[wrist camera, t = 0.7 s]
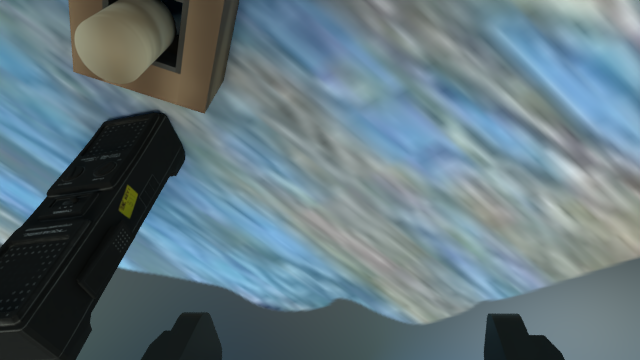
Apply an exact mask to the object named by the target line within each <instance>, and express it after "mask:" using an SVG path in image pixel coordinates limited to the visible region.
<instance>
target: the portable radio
mask: <svg viewBox="0 0 640 360" xmlns="http://www.w3.org/2000/svg"><path fill="white" fill-rule="evenodd" d="M184 160H185V155H184V150H183V147H182V145H181V143H180V141H179V139H178V137H177V135H176V133H175V132H174V130H173V128H172V126H171V124H170V122H169V120H168V118H167V117H166V116H165V115H163V114H158V113H151V114H145V115H139V116H133V117H127V118H122V119H117V120H111V121H106V122H104V123H103V124H102V125H101V127H100V128H99V129H98V131H97V132H96V133H95V135H94V136H93V137H92V139H91V140H90V141H89V142H88V144H87V145H86V146H85V147H84V149H83V150H82V151H81V152H80V153H79V155H78V156H77V157H76V158H75V159H74V161H73V162H72V163H71V164H70V165H69V167H68V168H67V169H66V170H65V171H64V172H63V174H62V175H61V176H60V177H59V178H58V179H57V181H56V182H55V183H54V184H53V185H52V186H51V188H50V189H49V190H48V192H47V197H46V198H45V200H44V201H43V202H42V203H41V204H40V206H39V207H38V208H37V209H36V210H35V211H34V212H33V214H32V215H31V216H30V217H29V218H28V219H27V220H26V222H25V223H24V224H23V225H22V226H21V227H20V228H18V229H17V230H16V231H15V232H14V233H13V234H12V235H11V236H10V237H9V239H8V240H7V241H6V242H5V243H4V244H3V245H2V246H1V248H0V360H76V358H77V356H78V354H79V353H80V351H81V349H82V347H83V345H84V343H85V342H86V340H87V338H88V336H89V334H90V332H91V331H92V328H91V325H90V317H91V312H92V310H93V309H94V307H95V305H96V304H97V302H98V300H99V298H100V297H101V295H102V293H103V291H104V290H105V288H106V286H107V284H108V283H109V281H110V279H111V278H112V276H113V274H114V272H115V270H116V269H117V267H118V265H119V264H120V262H121V260H122V258H123V257H124V255H125V253H126V251H127V250H128V248H129V246H130V244H131V243H132V241H133V240H134V238H135V237H136V234H137V232H138V230H139V229H140V227H141V225H142V223H143V222H144V220H145V218H146V217H147V215H148V213H149V211H150V210H151V208H152V206H153V204H154V203H155V201H156V199H157V197H158V196H159V194H160V192H161V190H162V189H163V187H164V185H165V184H166V182H167V180H168V178H169V177H170V176H176V175H177V174H178V172H179V170H180V168H181V166H182V164H183V163H184Z"/></svg>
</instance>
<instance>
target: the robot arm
mask: <svg viewBox="0 0 640 360" xmlns="http://www.w3.org/2000/svg"><path fill="white" fill-rule="evenodd" d="M141 360H222V347H221V343H220V341H219V338H218V335H217V333H216V330H215V327H214V324H213V321H212V318H211V316H210V314H209V313H207V312H206V313H205V312H184V313H182V314H181V315H180V316H179V317H178V319H177V321H176V323H175V325H174V326H173V328H172V330H171V331H164V332H163V333H162V334H161V335H160V336H159V337H158V338H157V339H156V340H154V341H153V342H152V343H151V344H150V345H149V347H148V349H147V351H146V352H145V354H144V355H143V357H142V359H141ZM484 360H565V359H564V357H563V355H562V353H561V352H560V351H559V350H558V349H557V348H556V347H555V346H554V345H553V344H552V343H551V342H550V341H549V340H548V339H547V338H546V337H545V336H544V335H529V334H528V332H527V329H526V327H525V325H524V323H523V320H522V318H521V316H520V315H519V314H488V316H487V324H486V334H485V346H484Z"/></svg>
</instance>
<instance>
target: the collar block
mask: <svg viewBox="0 0 640 360" xmlns="http://www.w3.org/2000/svg"><path fill="white" fill-rule="evenodd" d="M116 1H118V0H69V14H70V28H71V43H72V57H73V71H74V72H76V73H79V74H82V75H85V76H89V77H92V78H95V79H98V80H101V81H104V82H107V83H110V84H114V85H117V86H120V87H123V88H126V89H129V90H132V91H136V92H139V93H142V94H145V95H148V96H151V97H154V98H157V99H161V100H164V101H167V102H170V103H173V104H176V105H179V106H183V107H186V108H189V109H192V110H195V111H198V112H201V113H204V114H205V112H206V110H207V108H208V107H209V105H210V103H211V101H212V100H213V98H214V96H215V94H216V93H217V91H218V89H219V88H220V86H221V84H222V82H223V80H224V75H225V70H226V65H227V60H228V55H229V50H230V45H231V40H232V35H233V30H234V25H235V20H236V15H237V10H238V5H239V0H176V1H178V2H181V3H183V6H182V15H181V24H180V33H179V36H176V35H175V38H174V41H173V42H172V44H171V45H170V46H169V47H168V48H167V49H166V50H165V51H164V52H163V53H162V54H161V55H160V56H159V57H158V58H157V59H156V60H155V61H154V62H153V63H152V64H151V65H150V66H149V67H148V68H147V69H146V70H145V71H144V72H143V73H142V74H141V75H140V77H138V78H137V79H136V80H135V81H133V82H130V83H127V84H117V83H112V82H109V81H106V80H104V79H102V78H100V77H98V76H97V75H96V74H94V73H93V72H92V71H91V70H89V69H88V68H87V66H86V65H85V64H84V63H83V61H82V60H81V58H80V57H79V55H78V53H77V50H76V47H75V41H74V37H75V32H76V29H77V27H78V26H79V25H80V23H82V22H83V21H84V20H86V19H88V18H89V17H91V16H93V15H94V14H96V13H98V12H99V11H101V10H103V9H104V8H106V7H108V6H109V5H111V4H113V3H114V2H116Z"/></svg>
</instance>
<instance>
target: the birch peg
mask: <svg viewBox="0 0 640 360" xmlns="http://www.w3.org/2000/svg"><path fill="white" fill-rule="evenodd" d="M175 35H176V25H175V21H174V18H173V16H172V14H171V12H170V11H169V9H168V8H167V7H166V5H165V4H164V3H163V2H161V1H160V0H118V1H116V2H114V3H113V4H111V5H109V6H108V7H106V8H104V9H103V10H101V11H99V12H98V13H96V14H94V15H93V16H91V17H89V18H88V19H86V20H84V21H83V22H82V23H80V25H79V26H78V27H77V29H76V32H75V37H74V41H75V47H76V50H77V53H78V55H79V57H80V58H81V60H82V61H83V63H84V64H85V65H86V66H87V68H88V69H89V70H91V71H92V72H93V73H94V74H96V75H97V76H98V77H100V78H102V79H104V80H106V81H109V82H112V83H117V84H127V83H130V82H133V81H135V80H136V79H137V78H138V77H140V75H141V74H142V73H143V72H144V71H145V70H146V69H147V68H148V67H149V66H150V65H151V64H152V63H153V62H154V61H155V60H156V59H157V58H158V57H159V56H160V55H161V54H162V53H163V52H164V51H165V50H166V49H167V48H168V47H169V46H170V45H171V44H172V42H173V41H174V38H175Z"/></svg>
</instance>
